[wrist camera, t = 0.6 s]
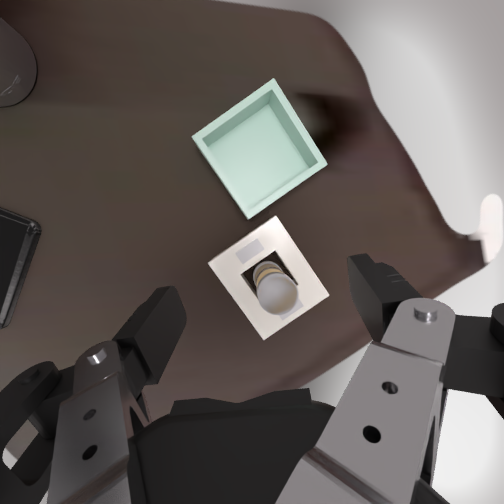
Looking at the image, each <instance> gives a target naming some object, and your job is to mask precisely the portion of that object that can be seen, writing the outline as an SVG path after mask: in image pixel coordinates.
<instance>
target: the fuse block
mask: <svg viewBox="0 0 504 504" xmlns="http://www.w3.org/2000/svg"><path fill="white" fill-rule="evenodd" d="M273 251H275V253H276V254H277V256H278V257H279V259H280V260H281V261H282V263H283V264H284V266H285V267H286V269H287V270H288V272H289V273H290V275H291V276H292V278H293V280H292V281H293V282H294V283H295V284H296V286H297V288H298V293H299V297H298V301H297V304H296V305H295V307H294V308H293V309H292V310H291V311H290V312H288V313H286V314H283V315H273V314H270V313H268V312H266V311H265V310H264V309H263V308H262V307H261V305H260V303H259V300H258V296H257V293H256V292H255V290H254V289H253V287H252V286H251V285H250V283H249V282H248V280H247V279H246V278H245V276H244V275H243V272H245V271H246V270H247V269H249V268H250V267H252V266H253V265H255V264H256V263H258V262H259V261H260V260H262V259H263V258H265V257H266V256H268V255H269V254H271V253H272V252H273ZM208 264H209V266H210V267H211V268H212V270H213V271H214V273H215V274H216V275H217V277H218V278H219V279H220V281H221V282H222V283H223V285H224V286H225V288H226V289H227V290H228V292H229V293H230V294H231V296H232V297H233V299H234V300H235V301H236V303H237V304H238V305H239V307H240V308H241V310H242V311H243V312H244V314H245V315H246V316H247V318H248V319H249V321H250V322H251V323H252V325H253V326H254V327H255V329H256V330H257V332H258V333H259V334H260V336H261V337H262V338H263V340H265V339H266V338H268V337H269V336H271V335H272V334H274V333H275V332H276V331H278V330H279V329H281V328H282V327H284V326H285V325H287V324H288V323H290V322H291V321H293V320H294V319H296V318H297V317H298V316H300V315H301V314H303V313H304V312H306V311H307V310H309V309H310V308H312V307H313V306H315V305H316V304H317V303H319V302H320V301H322V300H323V299H325V298H326V297H328V296H329V294H328V292H327V291H326V289H325V288H324V286H323V285H322V283H321V282H320V280H319V279H318V277H317V276H316V274H315V273H314V271H313V270H312V269H311V267H310V266H309V264H308V263H307V261H306V260H305V258H304V257H303V255H302V254H301V252H300V251H299V249H298V248H297V246H296V245H295V243H294V242H293V240H292V239H291V237H290V236H289V234H288V233H287V231H286V230H285V228H284V227H283V225H282V224H281V222H280V221H279V219H278V218H277V216H273V217H271V218H270V219H268V220H267V221H265V222H264V223H263V224H261V225H260V226H258V227H257V228H255V229H254V230H253V231H251V232H250V233H248V234H247V235H245V236H244V237H242V238H241V239H240V240H238V241H237V242H235V243H234V244H232V245H231V246H230V247H228V248H227V249H225V250H224V251H222V252H221V253H219V254H218V255H217V256H215V257H214V258H212V259H211V260H210V261H209V262H208Z"/></svg>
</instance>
